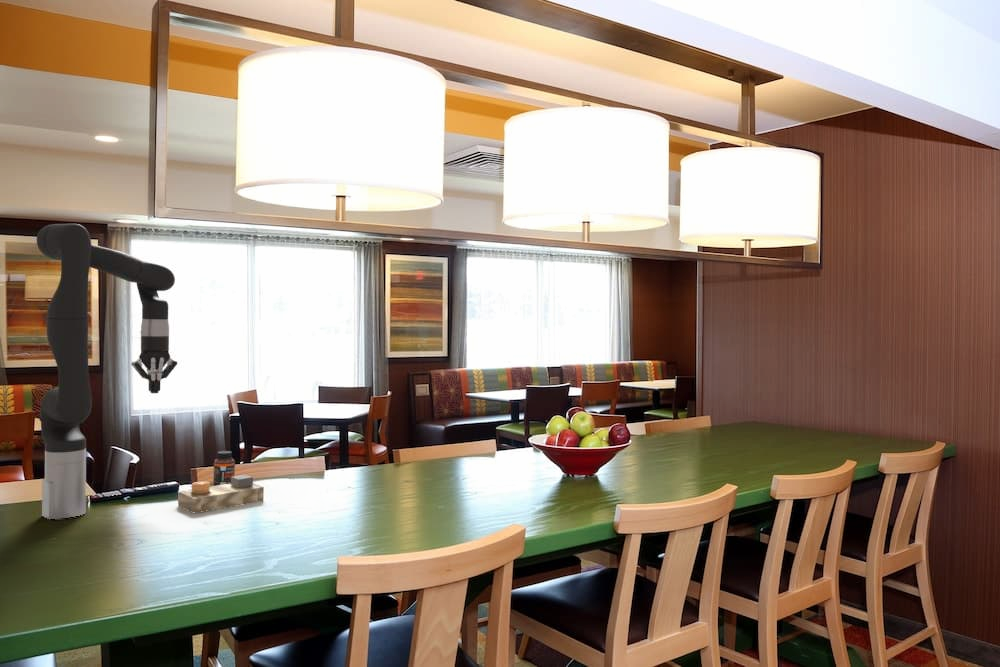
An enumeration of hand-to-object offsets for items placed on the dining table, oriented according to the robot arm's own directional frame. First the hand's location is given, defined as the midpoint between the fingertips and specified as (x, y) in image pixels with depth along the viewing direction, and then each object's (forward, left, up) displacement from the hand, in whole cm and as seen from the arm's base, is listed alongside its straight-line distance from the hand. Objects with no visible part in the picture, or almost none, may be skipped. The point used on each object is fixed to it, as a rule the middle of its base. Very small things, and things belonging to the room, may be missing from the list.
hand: (154, 393), depth 220 cm
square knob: (+14, -27, -28) cm, 41 cm away
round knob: (+2, -27, -28) cm, 39 cm away
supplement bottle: (+16, -12, -29) cm, 35 cm away
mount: (+8, -27, -29) cm, 40 cm away
